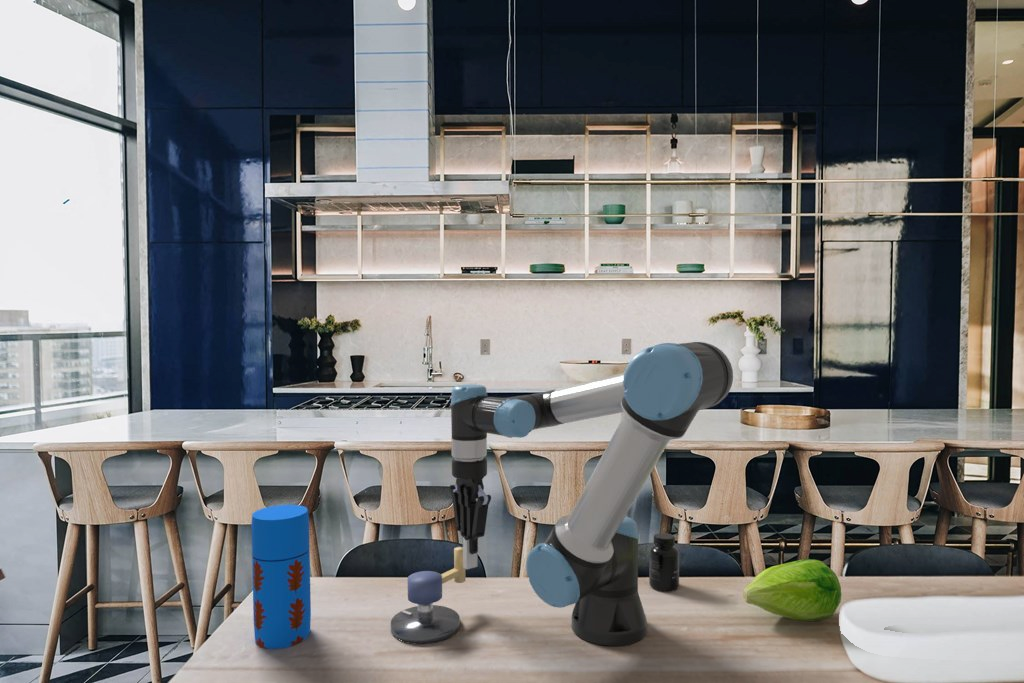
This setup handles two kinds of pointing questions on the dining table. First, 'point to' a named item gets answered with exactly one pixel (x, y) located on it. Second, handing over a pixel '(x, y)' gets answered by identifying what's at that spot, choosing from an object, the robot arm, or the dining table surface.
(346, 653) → the dining table surface
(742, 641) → the dining table surface
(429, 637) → the post base
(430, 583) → the blue crank handle
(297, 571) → the thermos
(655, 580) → the supplement bottle
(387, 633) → the dining table surface
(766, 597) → the lettuce
